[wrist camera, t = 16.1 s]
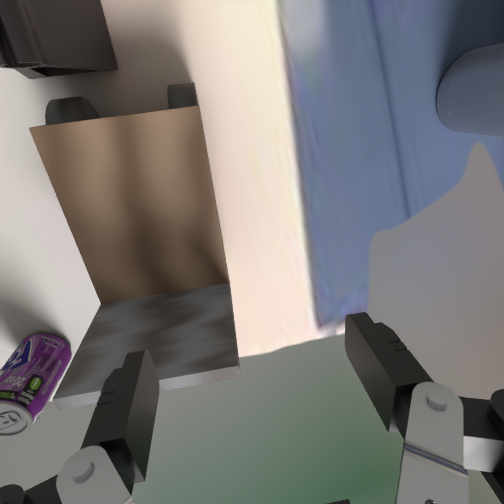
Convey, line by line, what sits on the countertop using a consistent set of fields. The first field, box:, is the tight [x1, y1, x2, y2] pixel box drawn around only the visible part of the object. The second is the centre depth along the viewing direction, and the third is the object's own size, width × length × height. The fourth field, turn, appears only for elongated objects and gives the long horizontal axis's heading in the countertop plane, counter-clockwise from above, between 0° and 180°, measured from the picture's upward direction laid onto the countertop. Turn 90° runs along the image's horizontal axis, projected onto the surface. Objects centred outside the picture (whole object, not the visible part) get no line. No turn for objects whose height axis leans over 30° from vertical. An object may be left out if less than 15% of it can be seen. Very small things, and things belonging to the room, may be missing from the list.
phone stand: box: [0, 0, 118, 79], centre depth 26 cm, size 9×6×12 cm, turn 96°
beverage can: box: [0, 334, 72, 438], centre depth 42 cm, size 7×7×12 cm
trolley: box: [29, 82, 241, 410], centre depth 30 cm, size 14×23×22 cm, turn 7°
